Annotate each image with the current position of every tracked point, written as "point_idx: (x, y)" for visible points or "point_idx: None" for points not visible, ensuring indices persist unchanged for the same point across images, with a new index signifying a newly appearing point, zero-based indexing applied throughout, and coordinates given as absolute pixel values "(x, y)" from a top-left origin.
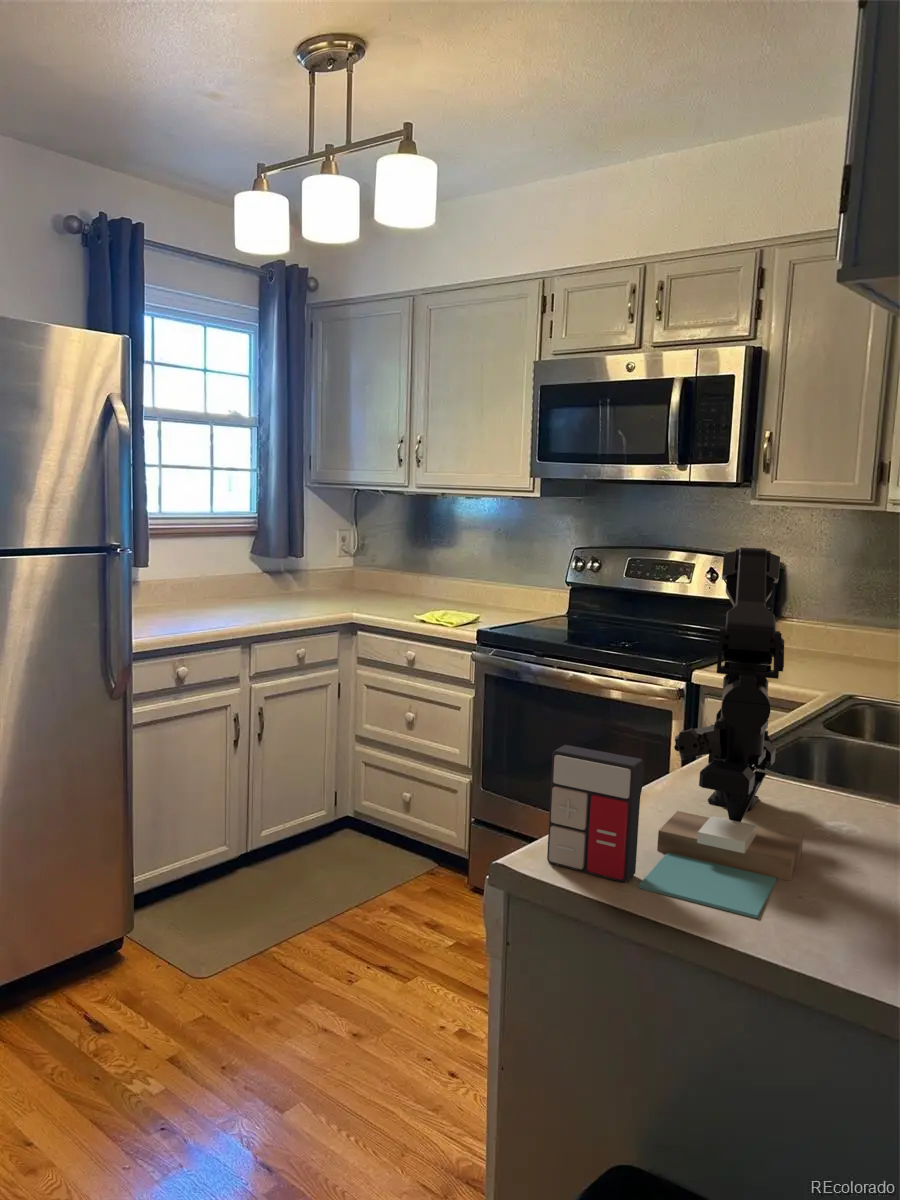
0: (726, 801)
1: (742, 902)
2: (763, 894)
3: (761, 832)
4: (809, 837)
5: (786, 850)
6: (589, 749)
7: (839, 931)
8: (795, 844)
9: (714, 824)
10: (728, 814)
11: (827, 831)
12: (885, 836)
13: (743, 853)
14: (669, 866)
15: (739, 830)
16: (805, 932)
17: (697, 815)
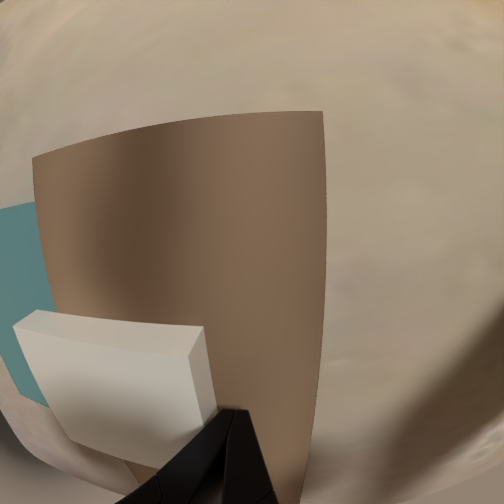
0: (149, 482)
1: (25, 380)
2: None
3: (271, 458)
4: (438, 440)
5: None
6: None
7: (80, 462)
8: None
9: (100, 376)
10: (195, 436)
11: (473, 441)
12: (462, 479)
13: None
14: (20, 236)
15: (126, 442)
16: (47, 433)
17: (321, 231)
